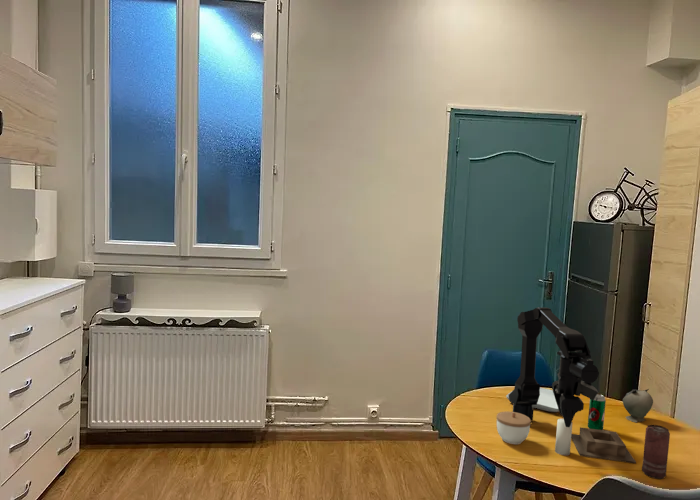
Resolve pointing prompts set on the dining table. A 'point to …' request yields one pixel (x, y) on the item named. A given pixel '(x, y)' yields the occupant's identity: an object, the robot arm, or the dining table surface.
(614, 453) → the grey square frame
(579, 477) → the dining table surface
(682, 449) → the dining table surface
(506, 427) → the lidded jar
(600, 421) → the soda can
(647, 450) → the can
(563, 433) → the cream peg
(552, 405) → the salad plate
